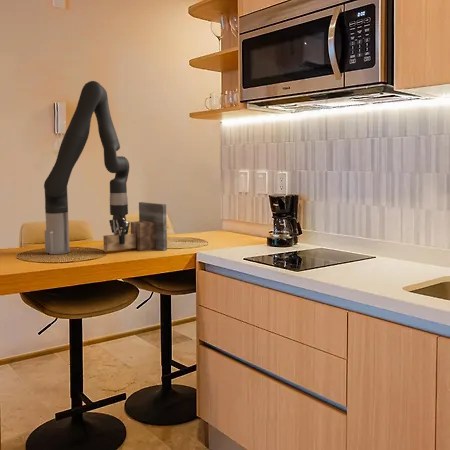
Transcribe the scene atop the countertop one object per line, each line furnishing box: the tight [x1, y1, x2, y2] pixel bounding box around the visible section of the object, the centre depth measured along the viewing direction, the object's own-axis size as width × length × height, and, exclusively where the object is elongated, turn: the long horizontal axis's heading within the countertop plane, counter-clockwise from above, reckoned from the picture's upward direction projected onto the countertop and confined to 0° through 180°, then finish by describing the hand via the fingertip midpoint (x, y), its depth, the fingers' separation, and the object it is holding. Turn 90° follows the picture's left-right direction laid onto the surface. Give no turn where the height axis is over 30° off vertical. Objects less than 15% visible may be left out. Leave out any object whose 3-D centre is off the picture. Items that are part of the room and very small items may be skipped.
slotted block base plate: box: [130, 201, 168, 252], centre depth 238 cm, size 10×20×20 cm, turn 40°
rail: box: [102, 232, 137, 252], centre depth 232 cm, size 18×3×6 cm, turn 130°
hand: (120, 243), depth 231 cm, fingers closed on rail, 3 cm apart
